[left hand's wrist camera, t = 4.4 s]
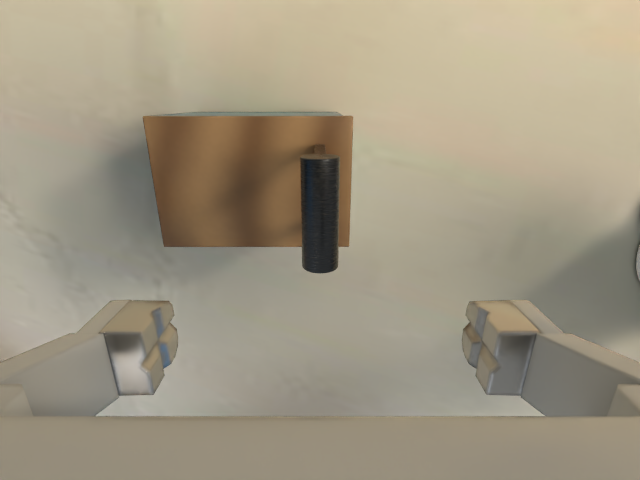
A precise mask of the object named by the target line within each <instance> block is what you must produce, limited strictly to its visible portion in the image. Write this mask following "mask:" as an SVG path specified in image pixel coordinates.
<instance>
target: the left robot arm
mask: <svg viewBox="0 0 640 480" xmlns="http://www.w3.org/2000/svg"><path fill="white" fill-rule="evenodd" d="M636 270H637V275H638V279H639V281H640V245H639V249H638V253H637V258H636ZM173 317H174V310H173V306H172V304H171V303H170V302H169V301H148V300H133V301H132V300H114V301H110V302H109V303H108V304H107V305H106V306H105V307H104V308H102V309H101V310H100V311H99V312H98V313H97V314H96V315H95V316H94V317H93V318H92V319H91V320H90V321H89V322H87V323H86V324H85V325H84V326H83V327H82V328H81V329H80V330H79V331H78V332H77V333H69V334H67V335H65V336H62V337H60V338H58V339H55V340H53V341H50V342H48V343H46V344H43V345H41V346H39V347H36V348H34V349H31V350H29V351H27V352H24V353H22V354H20V355H17V356H15V357H12V358H10V359H8V360H5V361H3V362H0V480H640V363H639V362H637V361H635V360H632V359H630V358H627V357H625V356H623V355H620V354H618V353H616V352H613V351H611V350H608V349H606V348H604V347H601V346H599V345H597V344H594V343H592V342H589V341H587V340H585V339H582V338H580V337H578V336H575V335H573V334H571V333H563V332H562V331H561V330H560V329H559V328H558V327H557V326H556V325H555V324H554V323H553V322H552V321H550V320H549V319H548V318H547V317H546V316H545V315H544V314H543V313H542V312H541V311H540V310H539V309H538V308H537V307H536V306H534V305H533V304H532V303H531V302H530V301H527V300H501V301H471V302H469V304H468V306H467V310H466V317H467V318H468V320H469V321H470V323H469V324H468V325H467V326H466V327H465V328H464V329H463V335H462V346H463V352H464V355H465V358H466V360H467V361H468V363H469V364H470V365H471V366H473V367H475V368H476V369H477V370H476V377H477V379H478V381H479V383H480V384H481V386H482V388H483V389H484V391H485V393H486V395H517V396H521V398H523V399H524V400H525V401H527V402H528V403H529V404H531V405H532V406H533V407H534V408H536V409H537V410H538V411H540V412H541V413H542V414H544V415H545V416H95V415H96V414H98V413H99V412H100V411H102V410H103V409H104V408H106V407H107V406H108V405H110V404H111V403H112V402H114V401H115V400H116V399H117V398H119V396H123V395H154V393H155V391H156V389H157V388H158V386H159V384H160V383H161V381H162V379H163V377H164V370H163V369H164V368H165V367H167V366H169V365H170V364H171V363H172V361H173V360H174V358H175V355H176V351H177V347H178V334H177V329H176V328H175V327H174V326H173V325H172V324H171V323H170V321H171V320H172V318H173Z"/></svg>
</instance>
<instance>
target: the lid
mask: <svg viewBox="0 0 640 480" xmlns="http://www.w3.org/2000/svg"><path fill="white" fill-rule="evenodd" d="M143 122H144V128H145V134H146V140H147V146H148V152H149V158H150V164H151V170H152V177H153V183H154V189H155V195H156V201H157V207H158V213H159V219H160V225H161V231H162V237H163V244H164V247H302V266H303V268H304V269H305V270H307V271H309V272H313V273H328V272H332V271H334V270H335V269H337V267H338V247H349V234H350V201H351V168H352V135H353V116H143Z"/></svg>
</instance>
